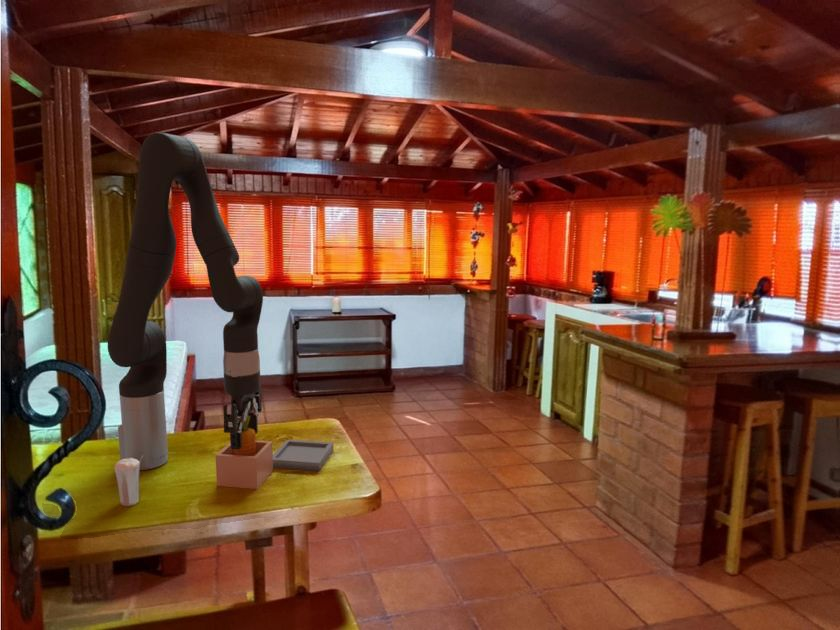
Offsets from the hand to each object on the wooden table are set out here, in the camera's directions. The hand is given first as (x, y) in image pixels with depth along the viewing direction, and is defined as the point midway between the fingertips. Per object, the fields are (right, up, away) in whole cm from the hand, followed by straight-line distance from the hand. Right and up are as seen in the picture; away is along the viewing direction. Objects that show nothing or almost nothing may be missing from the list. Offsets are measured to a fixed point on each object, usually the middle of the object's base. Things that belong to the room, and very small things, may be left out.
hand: (244, 441), depth 128 cm
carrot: (0, -9, +2) cm, 9 cm away
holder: (0, -9, +2) cm, 9 cm away
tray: (+10, -7, +12) cm, 17 cm away
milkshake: (-20, -10, -10) cm, 25 cm away
